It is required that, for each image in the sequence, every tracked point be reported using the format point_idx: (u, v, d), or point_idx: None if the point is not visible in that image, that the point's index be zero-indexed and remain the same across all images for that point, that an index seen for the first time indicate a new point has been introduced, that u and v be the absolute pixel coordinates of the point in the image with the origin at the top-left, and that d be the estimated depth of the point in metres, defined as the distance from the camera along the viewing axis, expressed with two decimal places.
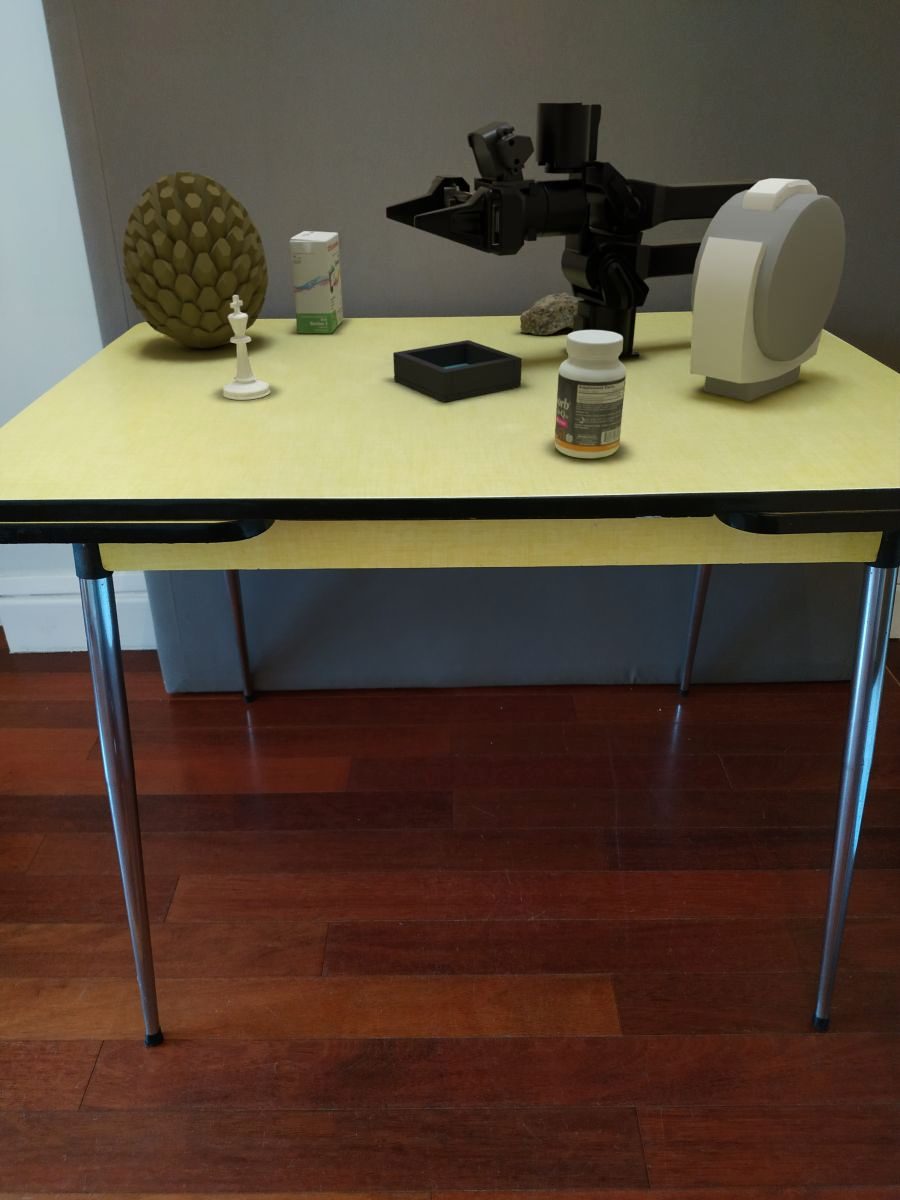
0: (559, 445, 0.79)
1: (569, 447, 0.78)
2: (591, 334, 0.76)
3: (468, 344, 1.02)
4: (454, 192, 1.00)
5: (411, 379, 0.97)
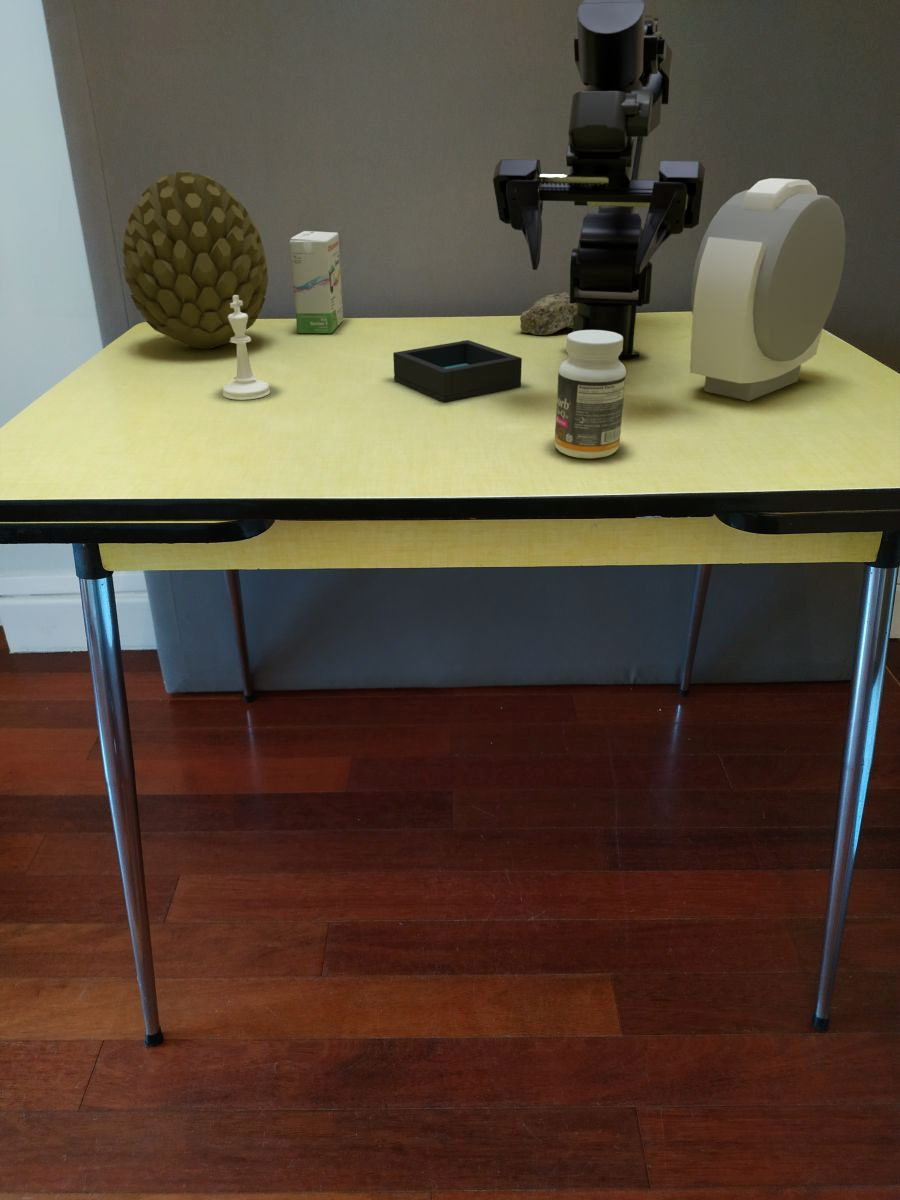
0: (559, 445, 0.79)
1: (569, 447, 0.78)
2: (591, 334, 0.76)
3: (468, 344, 1.02)
4: (536, 180, 0.83)
5: (411, 379, 0.97)
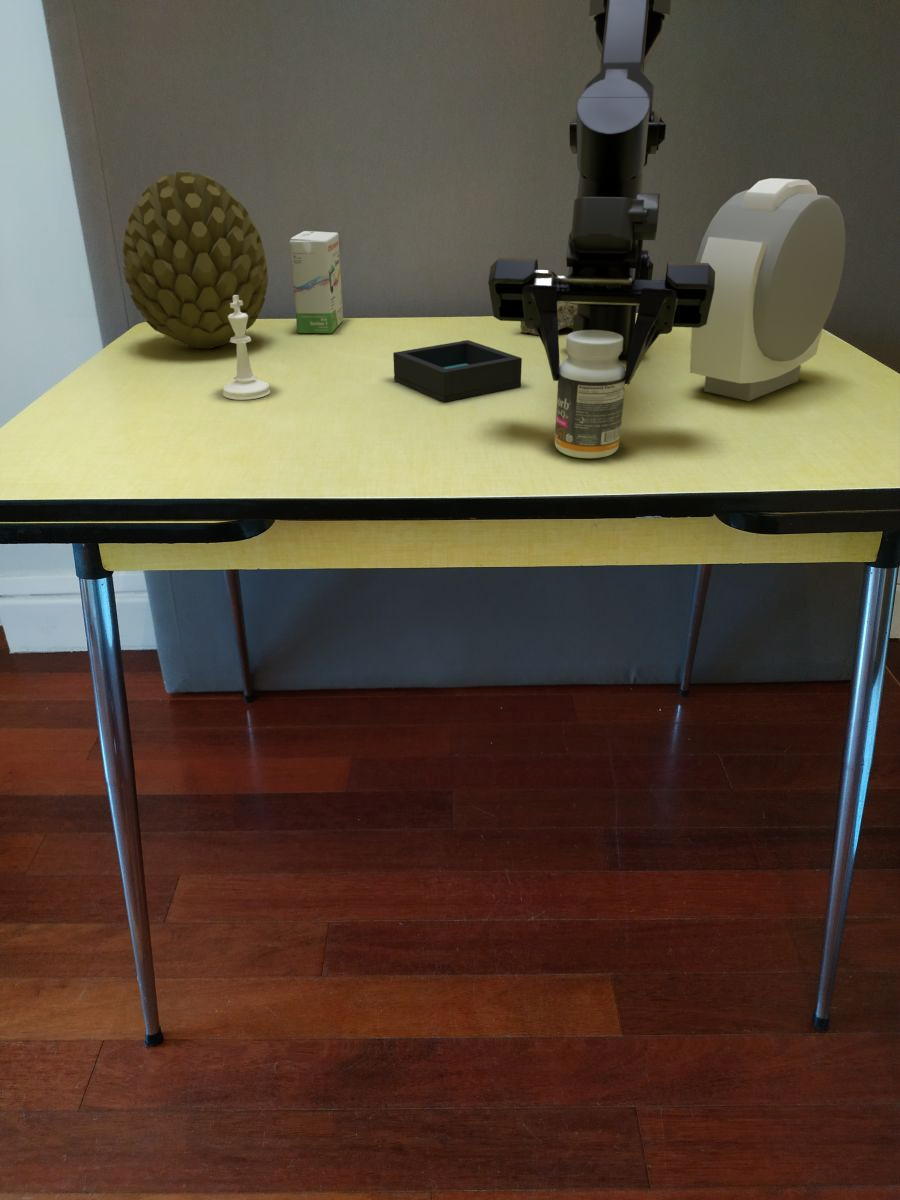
0: (559, 445, 0.79)
1: (569, 447, 0.78)
2: (591, 334, 0.76)
3: (468, 344, 1.02)
4: (554, 282, 0.78)
5: (411, 379, 0.97)
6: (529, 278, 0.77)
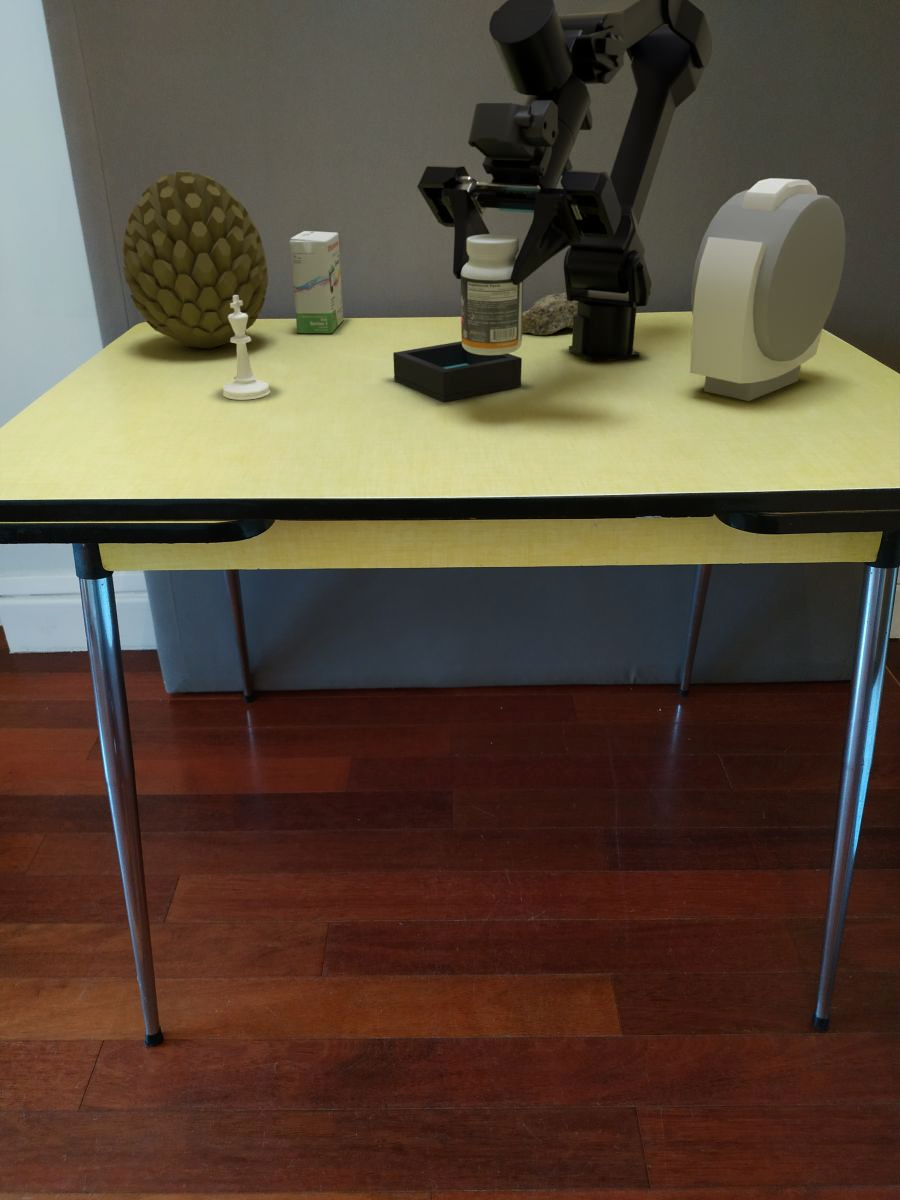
0: None
1: (465, 342, 0.85)
2: (492, 236, 0.82)
3: None
4: (474, 188, 0.84)
5: (411, 379, 0.97)
6: (449, 183, 0.84)
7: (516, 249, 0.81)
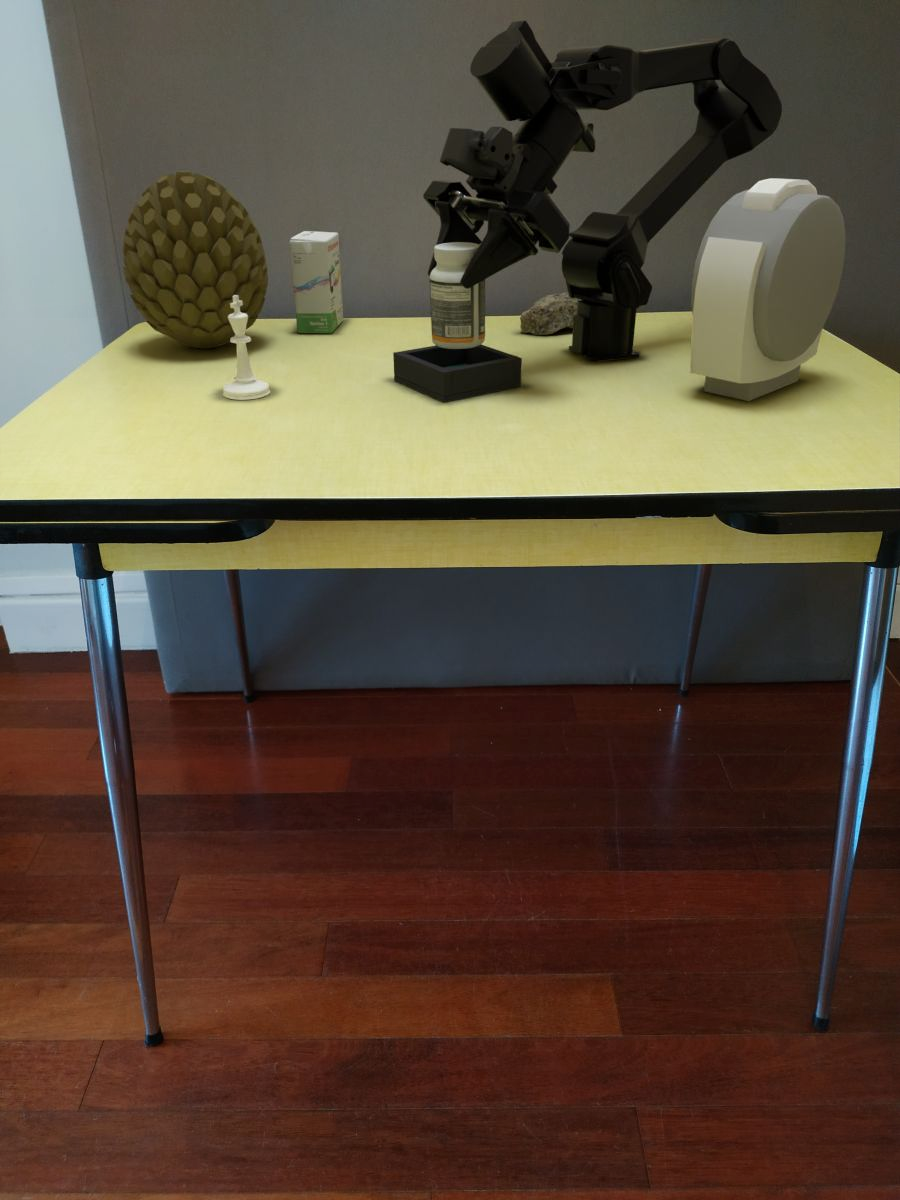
0: None
1: None
2: (460, 244, 0.93)
3: None
4: (462, 201, 0.95)
5: (411, 379, 0.97)
6: (442, 196, 0.96)
7: (472, 257, 0.91)
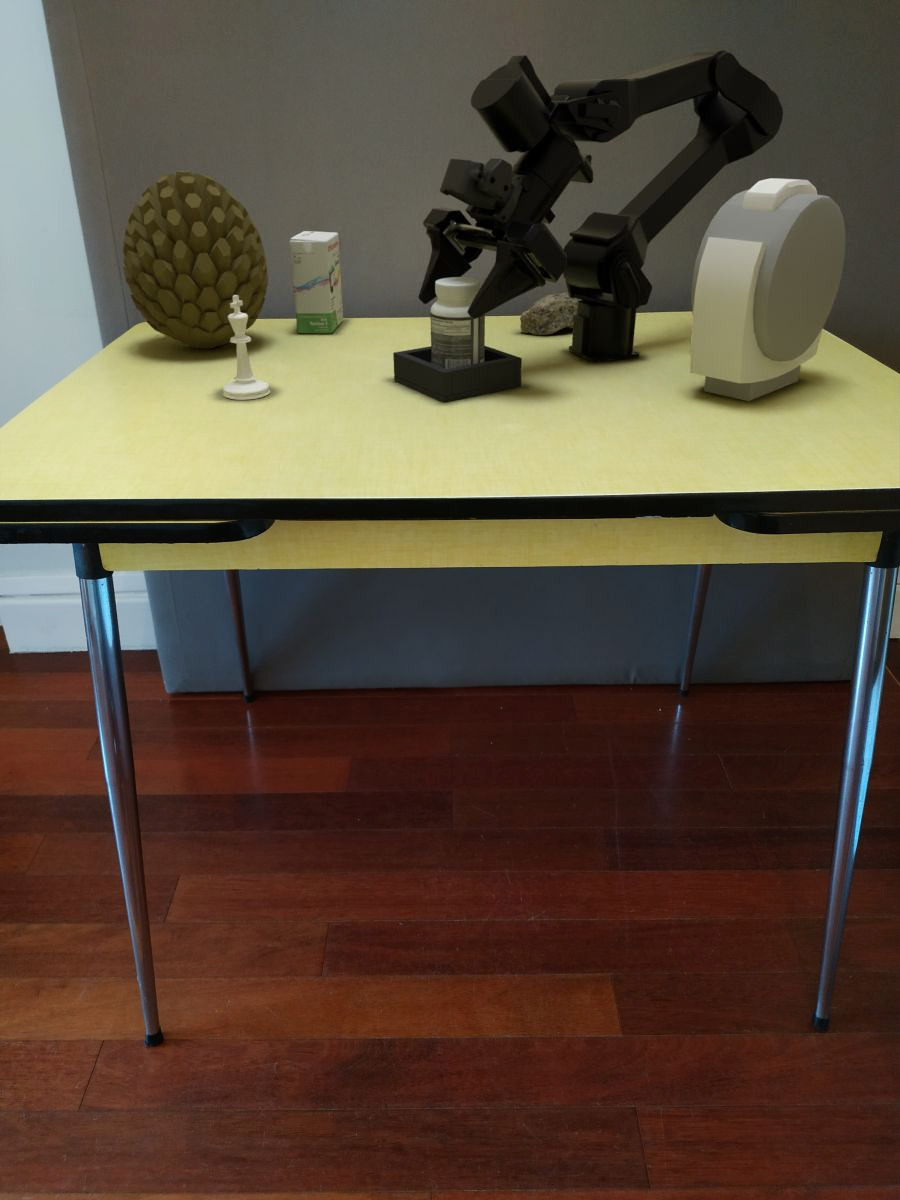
0: None
1: None
2: (460, 280, 0.95)
3: None
4: (452, 228, 0.98)
5: (411, 379, 0.97)
6: (441, 224, 0.97)
7: (472, 292, 0.93)
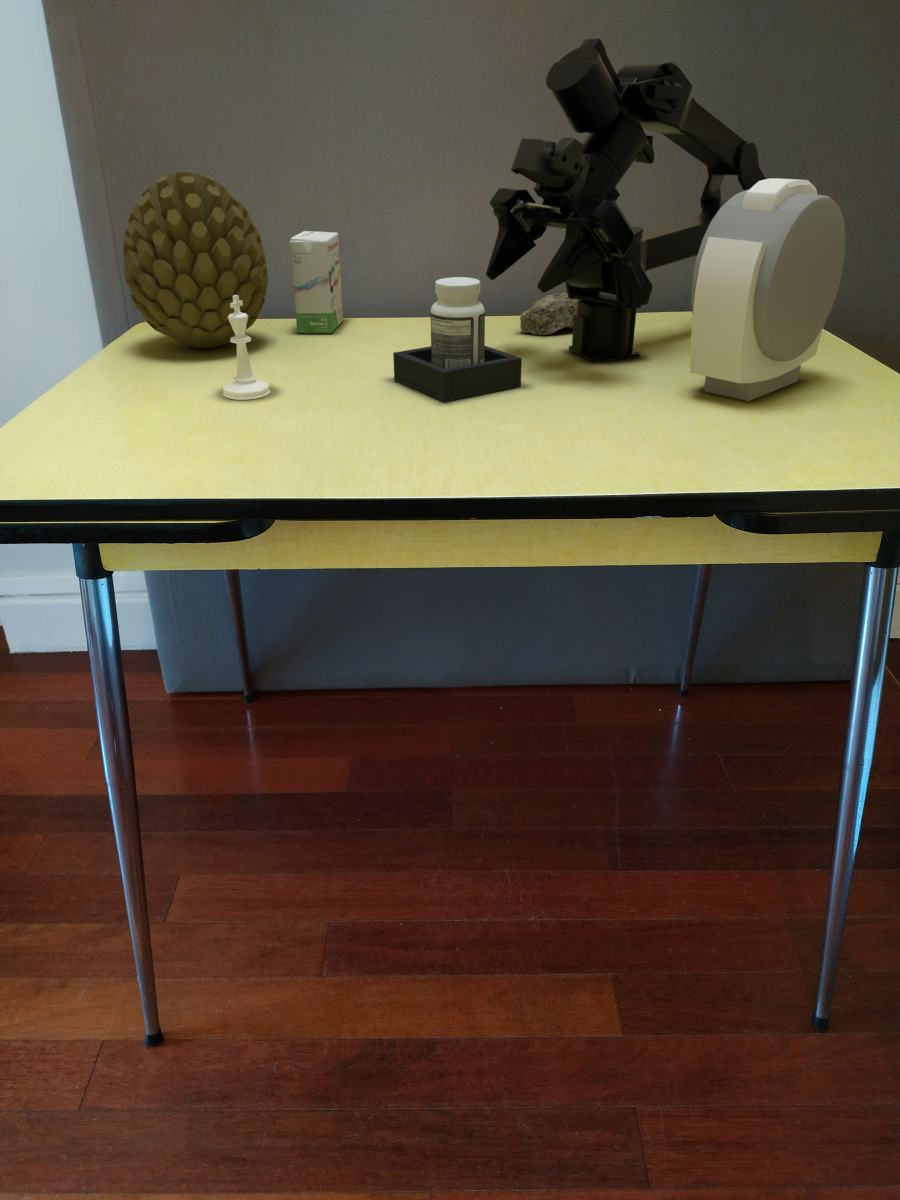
0: None
1: None
2: (460, 280, 0.95)
3: None
4: (519, 206, 1.01)
5: (411, 379, 0.97)
6: (509, 202, 1.01)
7: (472, 292, 0.93)
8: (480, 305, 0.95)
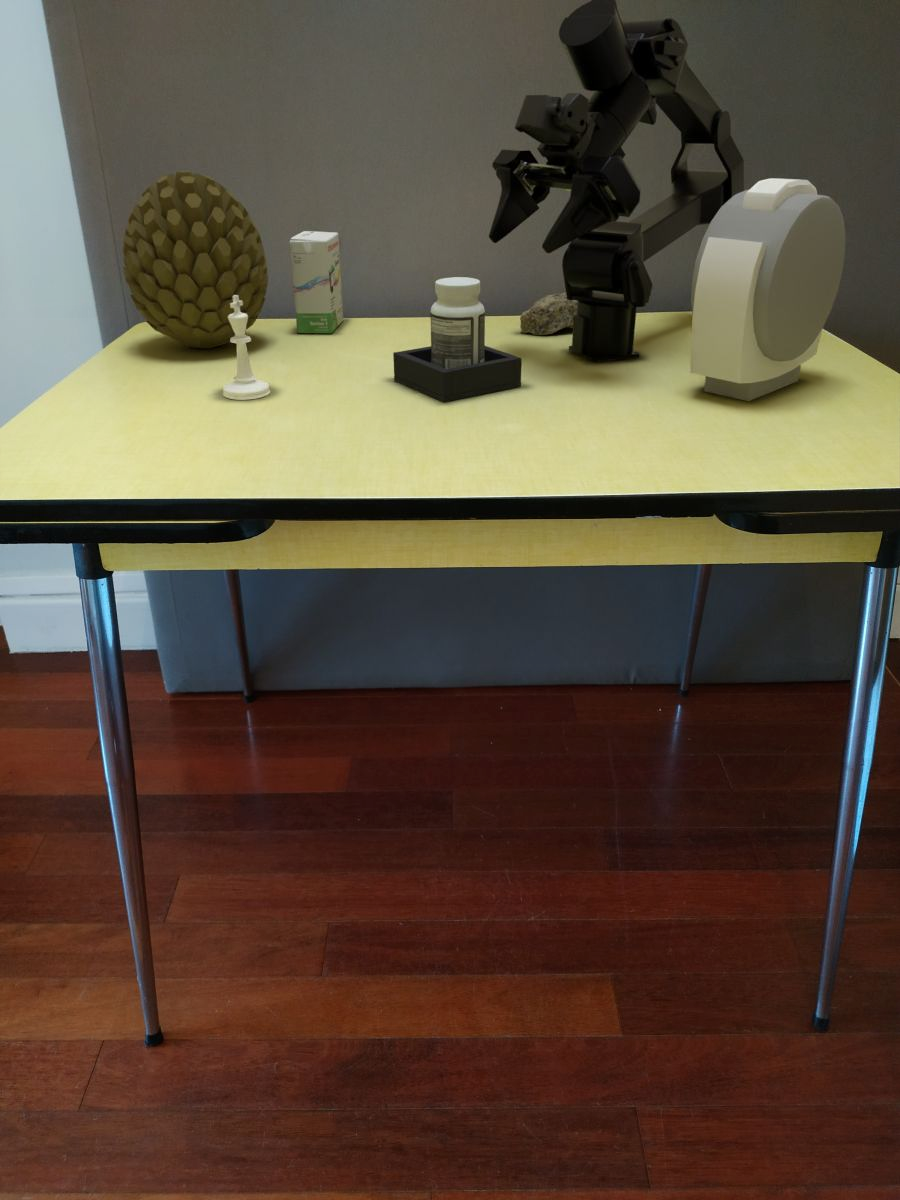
0: None
1: None
2: (460, 280, 0.95)
3: None
4: (522, 168, 0.99)
5: (411, 379, 0.97)
6: (512, 163, 0.99)
7: (472, 292, 0.93)
8: (480, 305, 0.95)
